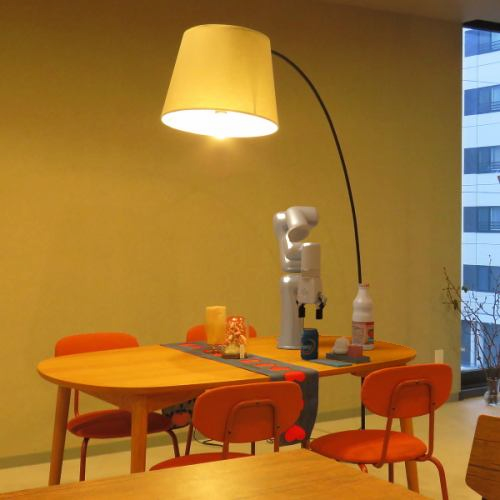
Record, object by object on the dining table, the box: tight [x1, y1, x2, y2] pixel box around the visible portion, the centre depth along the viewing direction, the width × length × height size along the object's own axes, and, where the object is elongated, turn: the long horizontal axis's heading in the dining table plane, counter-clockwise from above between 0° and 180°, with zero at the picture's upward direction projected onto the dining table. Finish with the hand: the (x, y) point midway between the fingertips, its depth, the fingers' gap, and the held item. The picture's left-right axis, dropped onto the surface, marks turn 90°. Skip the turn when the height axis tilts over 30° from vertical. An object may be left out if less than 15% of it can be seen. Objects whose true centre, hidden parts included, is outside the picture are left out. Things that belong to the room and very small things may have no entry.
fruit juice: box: [351, 283, 375, 351], centre depth 330 cm, size 9×9×28 cm
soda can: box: [300, 327, 320, 362], centre depth 300 cm, size 7×7×12 cm
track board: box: [308, 358, 353, 368], centre depth 291 cm, size 15×8×1 cm, turn 39°
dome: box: [332, 336, 351, 354], centre depth 303 cm, size 8×8×6 cm
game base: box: [325, 351, 371, 364], centre depth 300 cm, size 16×8×2 cm, turn 39°
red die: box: [348, 343, 364, 357], centre depth 297 cm, size 4×4×4 cm
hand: (310, 318), depth 299 cm, fingers open, 9 cm apart
